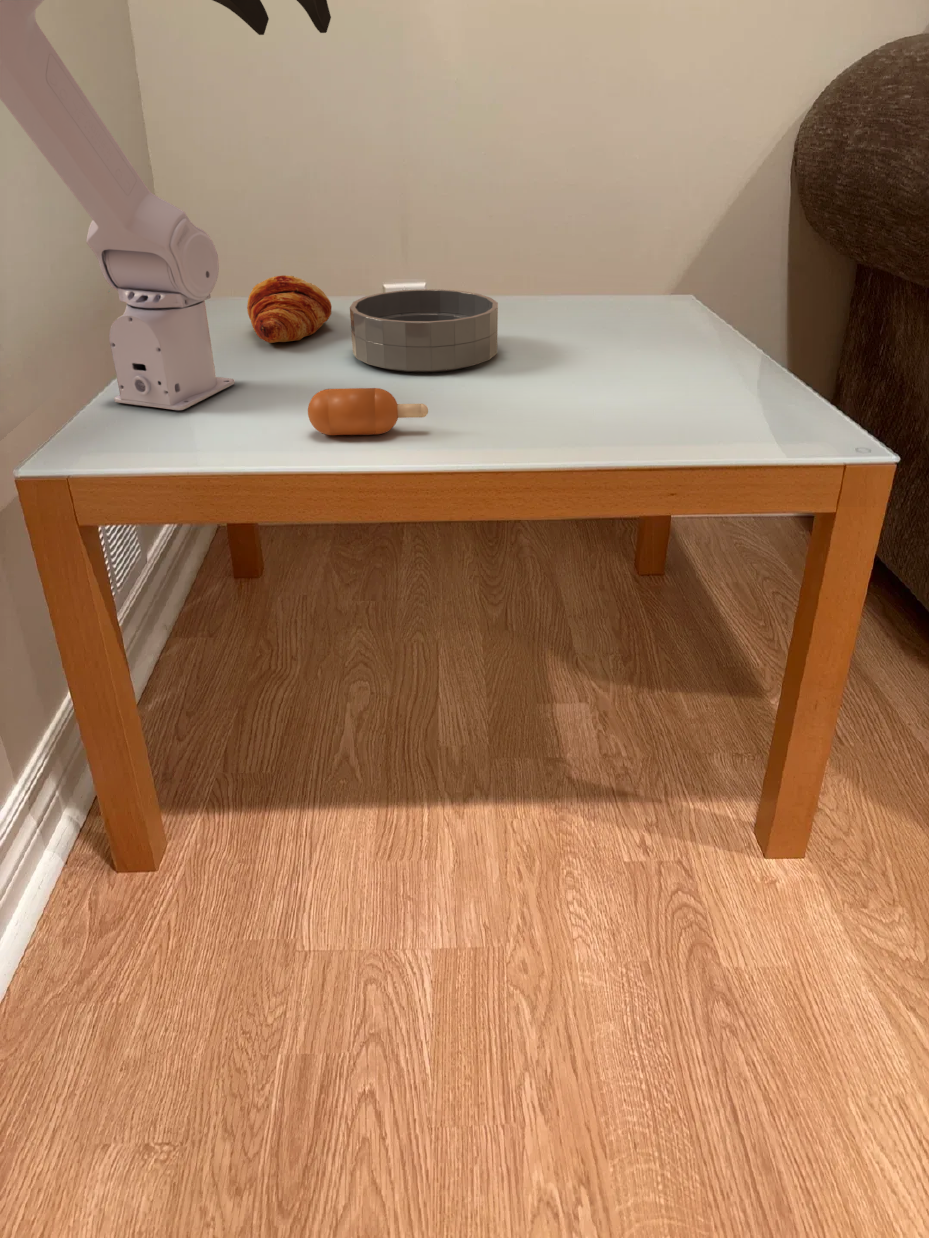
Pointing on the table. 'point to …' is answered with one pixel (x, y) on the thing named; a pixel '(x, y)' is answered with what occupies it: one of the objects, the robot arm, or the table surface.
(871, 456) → the table surface
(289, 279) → the croissant
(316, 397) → the corn dog
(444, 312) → the bowl
